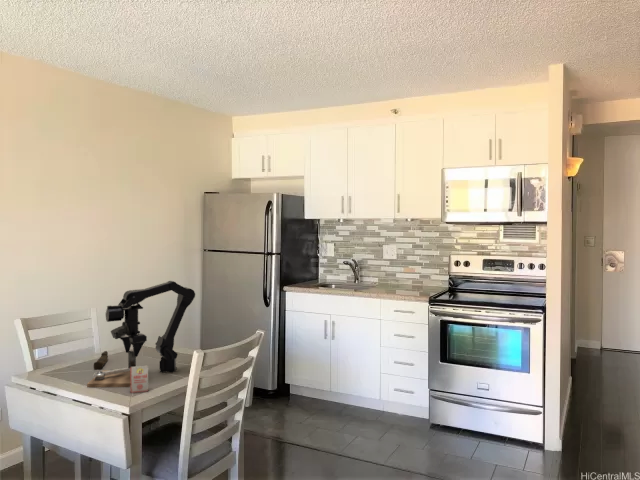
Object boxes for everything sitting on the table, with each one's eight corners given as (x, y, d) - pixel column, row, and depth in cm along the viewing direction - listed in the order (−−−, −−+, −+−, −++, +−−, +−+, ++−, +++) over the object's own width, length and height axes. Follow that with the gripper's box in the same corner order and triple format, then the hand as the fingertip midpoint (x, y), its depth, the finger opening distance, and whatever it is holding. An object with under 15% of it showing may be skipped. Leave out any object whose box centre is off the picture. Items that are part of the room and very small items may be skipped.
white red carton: (130, 390, 218) (130, 365, 217) (148, 388, 220) (148, 364, 219) (130, 392, 214) (130, 368, 214) (148, 391, 216) (148, 366, 216)
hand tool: (102, 370, 246) (102, 360, 246) (93, 370, 246) (93, 360, 245) (112, 359, 265) (112, 350, 265) (103, 359, 264) (103, 350, 264)
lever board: (148, 373, 241) (148, 367, 241) (136, 386, 222) (136, 380, 222) (103, 373, 240) (103, 367, 240) (87, 387, 221) (87, 380, 221)
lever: (96, 378, 224) (95, 358, 223) (92, 375, 227) (92, 356, 227) (138, 370, 235) (138, 351, 235) (134, 368, 239) (134, 349, 238)
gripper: (105, 318, 237) (105, 353, 237) (121, 325, 223) (121, 362, 223) (129, 315, 244) (130, 349, 245) (147, 321, 230) (147, 357, 231)
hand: (131, 354), depth 236 cm, fingers open, 9 cm apart
